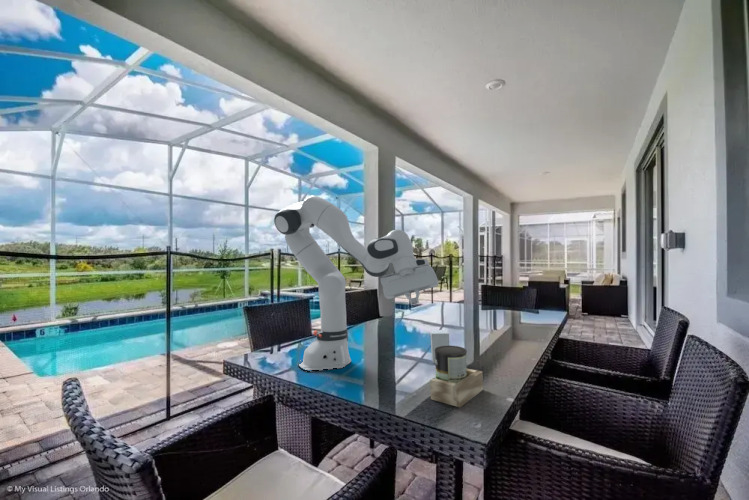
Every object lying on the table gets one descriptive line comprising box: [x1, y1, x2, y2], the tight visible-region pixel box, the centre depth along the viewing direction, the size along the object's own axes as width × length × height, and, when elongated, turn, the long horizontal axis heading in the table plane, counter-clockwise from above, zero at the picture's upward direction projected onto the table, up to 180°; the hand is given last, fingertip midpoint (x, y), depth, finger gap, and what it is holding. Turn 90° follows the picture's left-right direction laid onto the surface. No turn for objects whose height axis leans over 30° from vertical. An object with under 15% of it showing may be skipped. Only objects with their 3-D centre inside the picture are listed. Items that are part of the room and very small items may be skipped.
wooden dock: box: [429, 368, 484, 408], centre depth 112 cm, size 10×17×6 cm, turn 140°
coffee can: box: [434, 345, 468, 384], centre depth 114 cm, size 10×10×14 cm
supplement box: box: [430, 329, 450, 364], centre depth 148 cm, size 7×7×13 cm
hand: (414, 303), depth 122 cm, fingers closed
